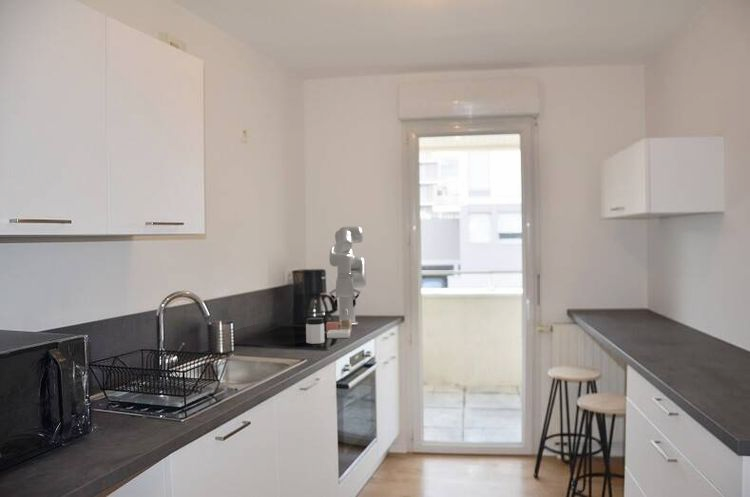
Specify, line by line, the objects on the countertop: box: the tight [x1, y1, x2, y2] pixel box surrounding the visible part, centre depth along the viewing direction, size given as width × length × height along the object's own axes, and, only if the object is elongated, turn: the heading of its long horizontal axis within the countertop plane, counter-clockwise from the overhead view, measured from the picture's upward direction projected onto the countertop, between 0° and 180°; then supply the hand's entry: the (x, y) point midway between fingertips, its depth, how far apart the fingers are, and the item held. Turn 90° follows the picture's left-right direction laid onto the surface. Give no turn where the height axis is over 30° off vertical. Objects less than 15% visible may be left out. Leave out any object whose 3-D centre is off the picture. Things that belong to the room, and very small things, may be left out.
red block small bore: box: [325, 321, 339, 335], centre depth 326 cm, size 6×6×6 cm
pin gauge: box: [343, 310, 348, 321], centre depth 333 cm, size 3×3×12 cm
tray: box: [326, 329, 351, 339], centre depth 315 cm, size 11×11×3 cm
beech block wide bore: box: [339, 319, 352, 333], centre depth 333 cm, size 6×6×6 cm
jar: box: [305, 317, 325, 345], centre depth 297 cm, size 9×8×12 cm
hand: (345, 306), depth 334 cm, fingers open, 9 cm apart
